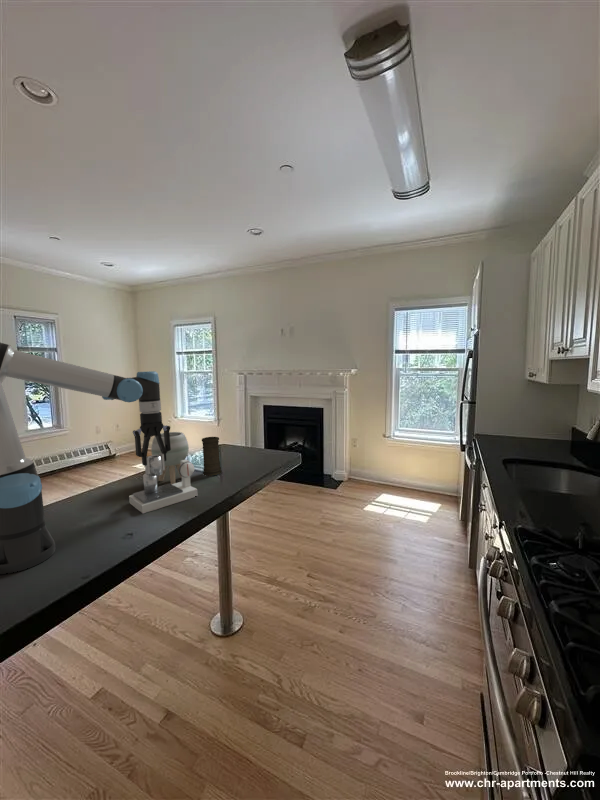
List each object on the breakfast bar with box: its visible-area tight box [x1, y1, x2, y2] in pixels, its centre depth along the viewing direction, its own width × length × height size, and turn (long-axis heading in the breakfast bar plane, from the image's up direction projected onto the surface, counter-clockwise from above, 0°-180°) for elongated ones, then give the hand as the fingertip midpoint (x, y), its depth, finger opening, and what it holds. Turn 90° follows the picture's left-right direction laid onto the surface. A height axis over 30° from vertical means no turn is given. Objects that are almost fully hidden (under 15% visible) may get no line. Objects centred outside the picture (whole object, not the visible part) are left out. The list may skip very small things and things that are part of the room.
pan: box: [132, 482, 183, 504], centre depth 136 cm, size 15×12×1 cm
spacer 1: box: [147, 454, 163, 477], centre depth 131 cm, size 5×5×7 cm
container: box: [201, 436, 222, 477], centre depth 169 cm, size 9×9×18 cm
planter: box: [150, 431, 189, 484], centre depth 158 cm, size 16×16×22 cm
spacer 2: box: [142, 472, 158, 494], centre depth 136 cm, size 5×5×7 cm
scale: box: [128, 459, 198, 514], centre depth 138 cm, size 24×14×14 cm, turn 135°
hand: (155, 471), depth 131 cm, fingers closed on spacer 1, 5 cm apart
